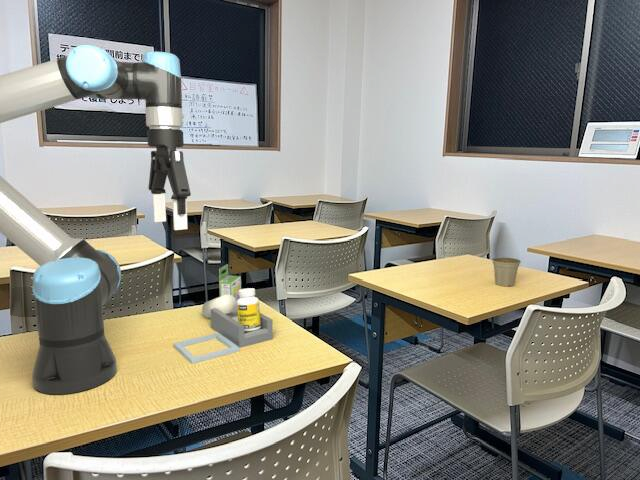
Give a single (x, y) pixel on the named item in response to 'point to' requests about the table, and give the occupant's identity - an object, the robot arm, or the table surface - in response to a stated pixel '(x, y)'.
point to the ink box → (229, 284)
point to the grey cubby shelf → (240, 328)
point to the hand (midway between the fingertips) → (169, 225)
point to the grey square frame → (194, 359)
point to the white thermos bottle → (220, 305)
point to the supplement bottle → (248, 310)
